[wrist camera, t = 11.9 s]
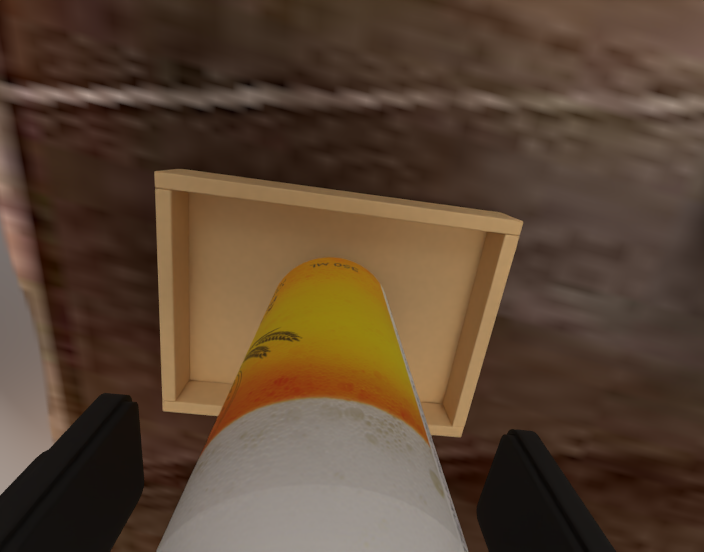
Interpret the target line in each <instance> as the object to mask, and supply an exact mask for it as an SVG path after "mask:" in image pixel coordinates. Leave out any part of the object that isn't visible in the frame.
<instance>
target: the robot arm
mask: <svg viewBox="0 0 704 552" xmlns="http://www.w3.org/2000/svg"><path fill="white" fill-rule="evenodd" d="M143 487H144V472H143V459H142V447H141V434H140V422H139V409H138V404H137V402H132V398H131V397H130V396H129V395H120V394H109V393H104V394H101V395H100V396H99V397H98V398H97V399H96V400H95V401H94V402H93V403H92V404H91V405H90V406H89V407H88V408H87V410H86V411H85V412H84V413H83V414H82V415H81V416H80V417H79V418H78V419H77V420H76V421H75V422H74V423H73V424H72V425H71V426H70V428H69V429H68V430H67V431H66V432H65V433H64V434H63V435H62V436H61V437H60V438H59V439H58V440H57V441H56V442H55V443H54V445H53V446H52V447H51V448H50V449H49V450H47V451H45V452H43V453H42V454H40V455H39V456H38V457H37V458H36V459H35V460H34V461H33V462H32V463H31V464H30V465H29V466H28V467H27V468H26V469H25V470H24V471H23V472H22V473H21V474H20V475H19V476H18V477H17V479H16V480H15V481H14V482H13V483H12V484H11V485H10V486H9V487H8V488H7V489H6V490H5V491H4V492H3V493H2V494H1V495H0V552H110V551H111V549H112V547H113V545H114V544H115V542H116V540H117V538H118V536H119V535H120V533H121V531H122V529H123V527H124V526H125V524H126V522H127V520H128V518H129V517H130V515H131V513H132V511H133V510H134V508H135V506H136V504H137V502H138V501H139V499H140V497H141V494H142V491H143ZM477 519H478V522H479V525H480V528H481V531H482V533H483V536H484V539H485V542H486V544H487V547H488V550H489V552H616V551H615V550H614V548H613V547H612V545H611V544H610V542H609V541H608V539H607V538H606V536H605V535H604V533H603V532H602V530H601V529H600V527H599V526H598V524H597V523H596V521H595V520H594V518H593V517H592V515H591V514H590V512H589V511H588V509H587V508H586V506H585V505H584V503H583V502H582V500H581V499H580V497H579V496H578V494H577V493H576V491H575V490H574V488H573V487H572V486H571V484H570V483H569V481H568V480H567V478H566V477H565V475H564V474H563V472H562V471H561V469H560V468H559V466H558V465H557V463H556V462H555V460H554V459H553V457H552V456H551V454H550V453H549V451H548V450H547V448H546V447H545V445H544V444H543V442H542V441H541V439H540V438H539V436H538V435H537V434H536V433H535V432H533V431H526V430H514V429H512V430H510V431H508V433H507V435H503V436H502V438H501V440H500V443H499V446H498V449H497V451H496V454H495V457H494V460H493V463H492V465H491V468H490V471H489V474H488V477H487V479H486V482H485V485H484V488H483V491H482V493H481V496H480V499H479V502H478V505H477Z"/></svg>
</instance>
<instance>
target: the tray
mask: <svg viewBox="0 0 704 552" xmlns="http://www.w3.org/2000/svg"><path fill="white" fill-rule="evenodd" d="M154 175H155V187H156V189H155V200H156V229H157V258H158V286H159V315H160V344H161V373H162V399H163V411H166V412H177V413H189V414H200V415H211V416H218V415H219V413H220V411H221V409H222V407H223V404H224V402H225V400H226V398H227V396H228V393H229V391H230V389H231V387H232V385H233V382H234V380H235V378H236V376H237V374H238V372H239V369H240V367H241V365H242V363H243V361H244V358H245V356H246V354H247V352H248V350H249V347H250V345H251V343H252V341H253V339H254V337H255V334H256V332H257V330H258V328H259V326H260V323H261V321H262V319H263V317H264V315H265V313H266V310H267V308H268V306H269V304H270V302H271V299H272V297H273V295H274V293H275V291H276V288H277V287H278V285H279V283H280V282H281V280H282V279H283V278H284V277H285V276H286V275H287V274H288V273H289V272H290V271H291V270H292V269H293V268H295V267H297V266H298V265H300V264H302V263H304V262H306V261H309V260H312V259H316V258H323V257H337V258H343V259H347V260H350V261H353V262H355V263H357V264H359V265H361V266H363V267H364V268H366V269H367V270H368V271H370V272H371V273H372V274H373V275H374V276H375V277H376V279H377V280H378V281H379V283H380V284H381V286H382V288H383V290H384V292H385V294H386V298H387V301H388V304H389V307H390V310H391V313H392V316H393V319H394V322H395V325H396V329H397V332H398V335H399V338H400V341H401V344H402V347H403V350H404V353H405V356H406V360H407V363H408V366H409V369H410V372H411V375H412V378H413V381H414V384H415V387H416V391H417V394H418V397H419V400H420V403H421V406H422V409H423V412H424V415H425V418H426V422H427V425H428V428H429V431H430V434H431V435H439V436H451V437H461V435H462V432H463V428H464V426H465V422H466V419H467V415H468V412H469V409H470V405H471V402H472V398H473V395H474V391H475V388H476V384H477V381H478V378H479V374H480V371H481V367H482V364H483V360H484V357H485V353H486V350H487V346H488V343H489V340H490V336H491V333H492V329H493V326H494V322H495V319H496V315H497V312H498V309H499V305H500V302H501V298H502V295H503V291H504V288H505V284H506V281H507V277H508V274H509V271H510V267H511V264H512V260H513V257H514V253H515V250H516V246H517V243H518V240H519V235H520V232H521V228H522V225H523V221H521V220H518V219H516V218H513V217H510V216H508V215H505V214H503V213H500V212H494V211H486V210H479V209H472V208H464V207H457V206H450V205H442V204H435V203H428V202H421V201H413V200H406V199H399V198H391V197H384V196H377V195H369V194H362V193H355V192H348V191H340V190H333V189H326V188H318V187H311V186H304V185H297V184H289V183H282V182H275V181H267V180H260V179H253V178H245V177H238V176H231V175H224V174H216V173H209V172H202V171H194V170H187V169H172V170H162V171H155V173H154Z"/></svg>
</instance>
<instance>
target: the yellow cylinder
mask: <svg viewBox="0 0 704 552" xmlns="http://www.w3.org/2000/svg"><path fill="white" fill-rule="evenodd" d="M156 552H468V549H467V546H466V543H465V539H464V536H463V533H462V530H461V527H460V524H459V521H458V518H457V515H456V512H455V508H454V505H453V502H452V499H451V496H450V493H449V490H448V487H447V484H446V481H445V477H444V474H443V471H442V468H441V465H440V462H439V459H438V456H437V453H436V450H435V446H434V443H433V440H432V437H431V434H430V431H429V428H428V425H427V422H426V418H425V415H424V412H423V409H422V406H421V403H420V400H419V397H418V394H417V391H416V387H415V384H414V381H413V378H412V375H411V372H410V369H409V366H408V363H407V360H406V356H405V353H404V350H403V347H402V344H401V341H400V338H399V335H398V332H397V329H396V325H395V322H394V319H393V316H392V313H391V310H390V307H389V304H388V301H387V298H386V294H385V292H384V290H383V288H382V286H381V284H380V283H379V281H378V280H377V279H376V277H375V276H374V275H373V274H372V273H371V272H370V271H368V270H367V269H366V268H364V267H363V266H361V265H359V264H357V263H355V262H353V261H350V260H347V259H343V258H337V257H323V258H316V259H312V260H309V261H306V262H304V263H302V264H300V265H298V266H297V267H295V268H293V269H292V270H291V271H290V272H289V273H288V274H287V275H286V276H285V277H284V278H283V279H282V280H281V282H280V283H279V285H278V287H277V288H276V291H275V293H274V295H273V297H272V299H271V302H270V304H269V306H268V308H267V310H266V313H265V315H264V317H263V319H262V321H261V323H260V326H259V328H258V330H257V332H256V334H255V337H254V339H253V341H252V343H251V345H250V347H249V350H248V352H247V354H246V356H245V358H244V361H243V363H242V365H241V367H240V369H239V372H238V374H237V376H236V378H235V380H234V382H233V385H232V387H231V389H230V391H229V393H228V396H227V398H226V400H225V402H224V404H223V407H222V409H221V411H220V413H219V415H218V417H217V420H216V422H215V424H214V426H213V428H212V431H211V433H210V435H209V437H208V439H207V441H206V444H205V446H204V448H203V450H202V452H201V455H200V457H199V459H198V461H197V463H196V466H195V468H194V470H193V472H192V474H191V476H190V479H189V481H188V483H187V485H186V487H185V490H184V492H183V494H182V496H181V498H180V501H179V503H178V505H177V507H176V509H175V511H174V514H173V516H172V518H171V520H170V522H169V525H168V527H167V529H166V531H165V533H164V535H163V538H162V540H161V542H160V544H159V546H158V549H157V551H156Z"/></svg>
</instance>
